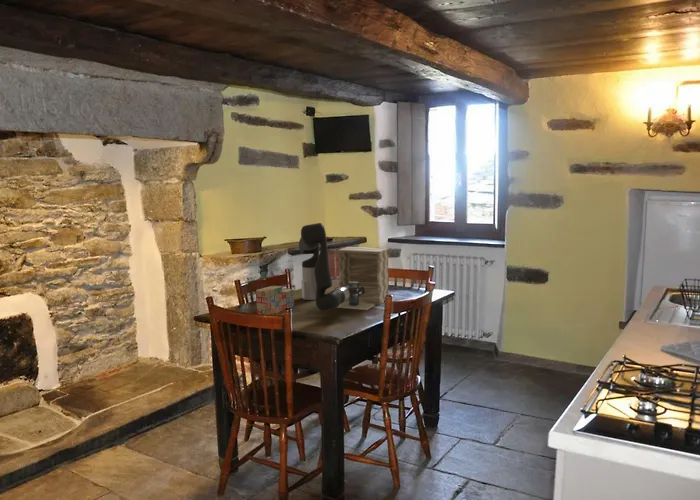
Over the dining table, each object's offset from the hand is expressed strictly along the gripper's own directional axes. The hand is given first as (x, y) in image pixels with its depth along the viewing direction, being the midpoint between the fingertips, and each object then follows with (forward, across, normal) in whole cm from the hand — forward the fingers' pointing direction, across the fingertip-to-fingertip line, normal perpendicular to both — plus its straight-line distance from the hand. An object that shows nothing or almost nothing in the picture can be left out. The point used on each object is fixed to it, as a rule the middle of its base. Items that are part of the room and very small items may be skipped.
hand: (354, 288), depth 286 cm
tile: (-1, 0, +9) cm, 9 cm away
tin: (-1, 0, +8) cm, 8 cm away
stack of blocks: (-24, +32, +9) cm, 41 cm away
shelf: (+13, 0, +9) cm, 16 cm away
